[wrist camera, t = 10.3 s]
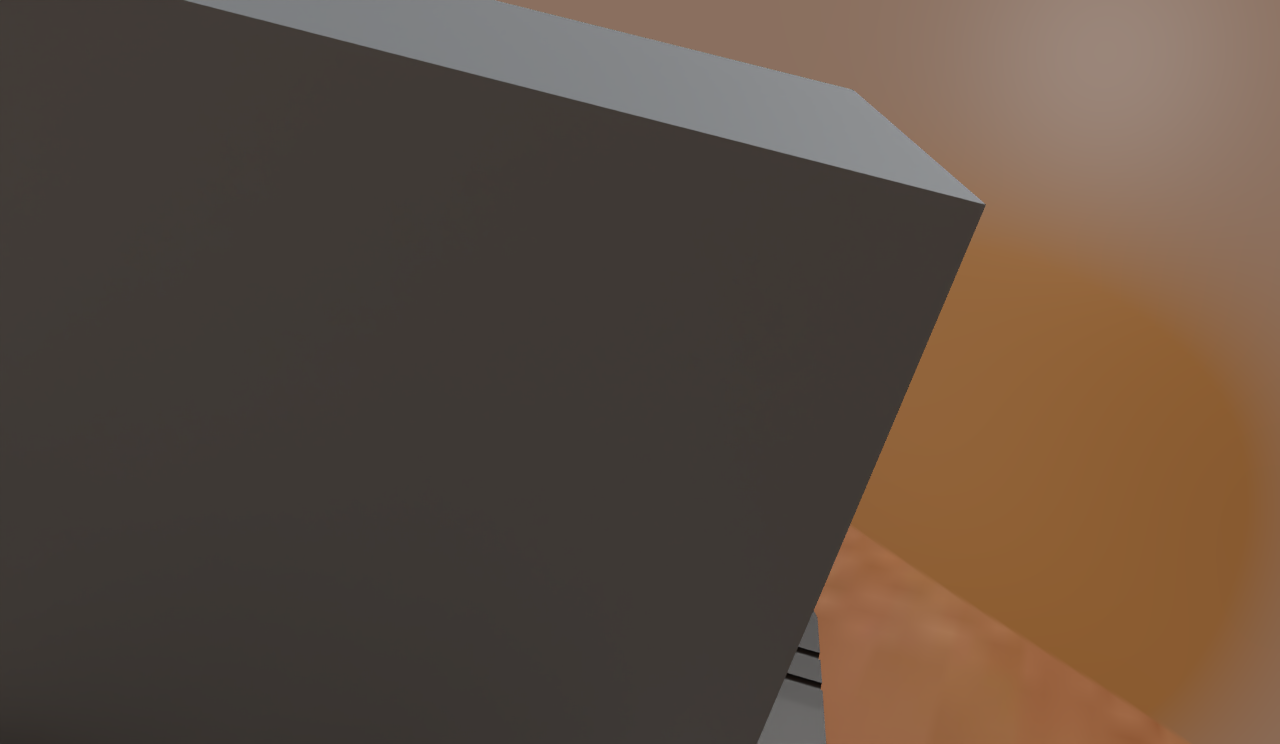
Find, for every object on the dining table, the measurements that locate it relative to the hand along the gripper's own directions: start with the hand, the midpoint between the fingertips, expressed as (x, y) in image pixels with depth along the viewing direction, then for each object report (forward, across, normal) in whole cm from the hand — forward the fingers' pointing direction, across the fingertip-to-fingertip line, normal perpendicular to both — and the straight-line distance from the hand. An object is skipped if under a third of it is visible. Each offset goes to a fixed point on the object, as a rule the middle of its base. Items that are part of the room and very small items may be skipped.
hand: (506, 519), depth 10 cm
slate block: (-3, 0, +8) cm, 8 cm away
